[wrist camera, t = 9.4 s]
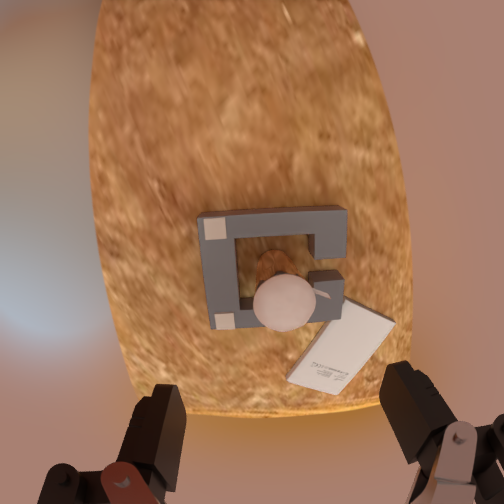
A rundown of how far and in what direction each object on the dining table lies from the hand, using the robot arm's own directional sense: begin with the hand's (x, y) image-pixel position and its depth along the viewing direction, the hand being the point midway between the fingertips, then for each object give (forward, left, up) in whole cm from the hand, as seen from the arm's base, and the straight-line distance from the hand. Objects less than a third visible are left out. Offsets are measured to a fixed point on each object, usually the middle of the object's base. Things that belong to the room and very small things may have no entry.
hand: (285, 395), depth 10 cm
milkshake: (+2, +2, -19) cm, 19 cm away
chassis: (+2, +1, -19) cm, 19 cm away
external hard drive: (+13, +9, -20) cm, 25 cm away
